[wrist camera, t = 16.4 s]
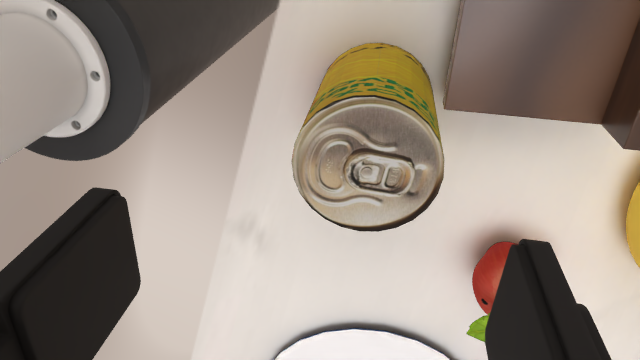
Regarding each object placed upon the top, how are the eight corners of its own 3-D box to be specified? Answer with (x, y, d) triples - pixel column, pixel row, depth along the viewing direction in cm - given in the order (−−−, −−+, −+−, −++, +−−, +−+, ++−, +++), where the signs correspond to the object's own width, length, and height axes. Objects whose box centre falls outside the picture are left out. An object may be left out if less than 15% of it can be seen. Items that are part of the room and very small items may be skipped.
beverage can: (322, 37, 37) (293, 89, 27) (441, 48, 36) (458, 105, 26) (317, 143, 42) (290, 222, 31) (423, 155, 41) (430, 239, 31)
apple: (531, 214, 42) (565, 294, 34) (554, 271, 45) (592, 359, 36) (446, 242, 45) (458, 322, 36) (473, 294, 47) (489, 381, 39)
